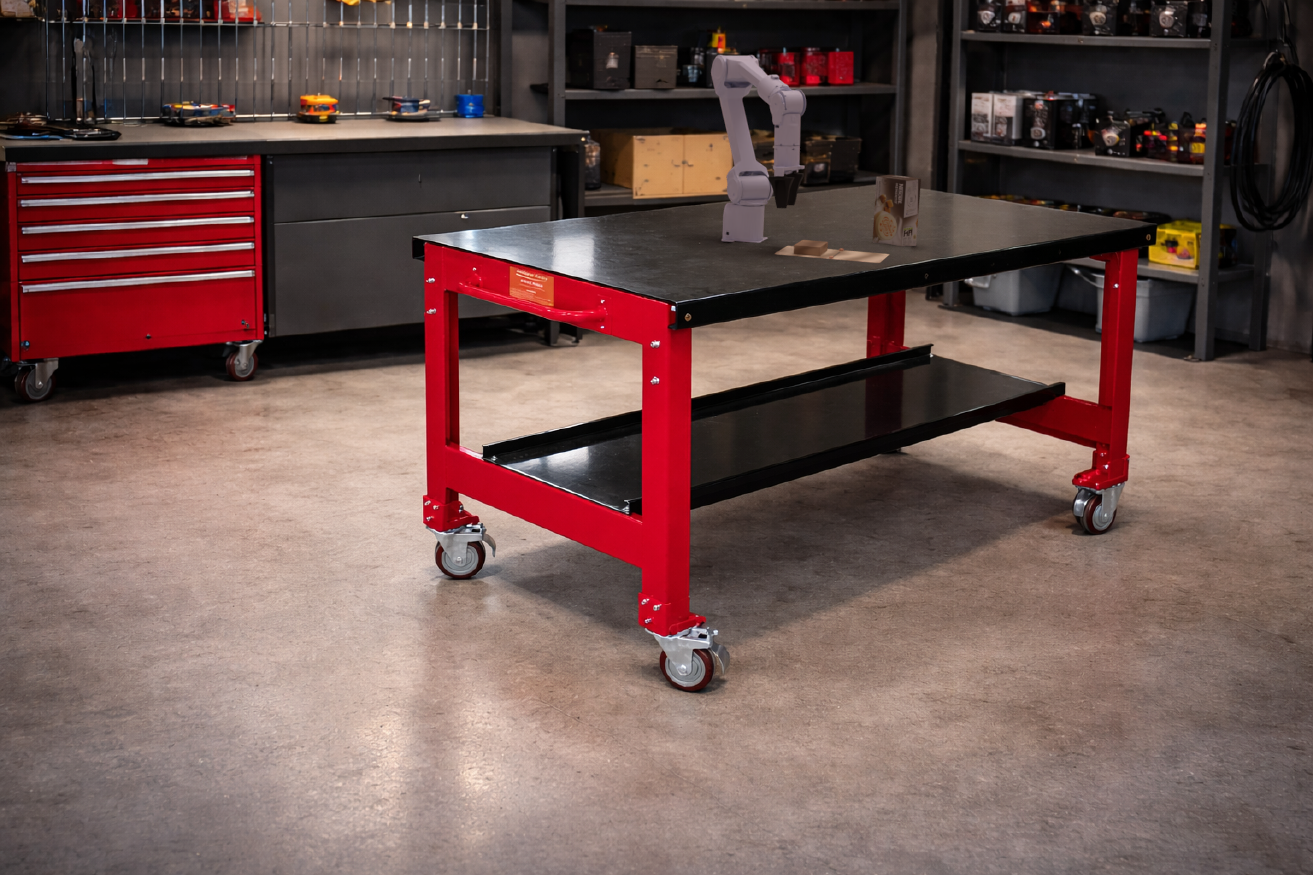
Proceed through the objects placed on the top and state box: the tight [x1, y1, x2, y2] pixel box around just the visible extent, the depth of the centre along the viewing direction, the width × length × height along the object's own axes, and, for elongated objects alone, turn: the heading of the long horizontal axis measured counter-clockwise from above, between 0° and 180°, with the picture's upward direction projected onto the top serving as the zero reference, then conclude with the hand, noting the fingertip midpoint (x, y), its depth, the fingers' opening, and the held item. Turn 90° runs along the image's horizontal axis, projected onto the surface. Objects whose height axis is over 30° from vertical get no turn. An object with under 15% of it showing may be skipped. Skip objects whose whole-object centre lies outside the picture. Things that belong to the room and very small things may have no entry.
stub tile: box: [793, 239, 829, 256], centre depth 310 cm, size 6×8×2 cm
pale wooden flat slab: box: [774, 245, 890, 264], centre depth 309 cm, size 24×12×1 cm, turn 71°
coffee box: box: [871, 174, 922, 247], centre depth 324 cm, size 9×6×16 cm
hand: (785, 206), depth 309 cm, fingers open, 7 cm apart
